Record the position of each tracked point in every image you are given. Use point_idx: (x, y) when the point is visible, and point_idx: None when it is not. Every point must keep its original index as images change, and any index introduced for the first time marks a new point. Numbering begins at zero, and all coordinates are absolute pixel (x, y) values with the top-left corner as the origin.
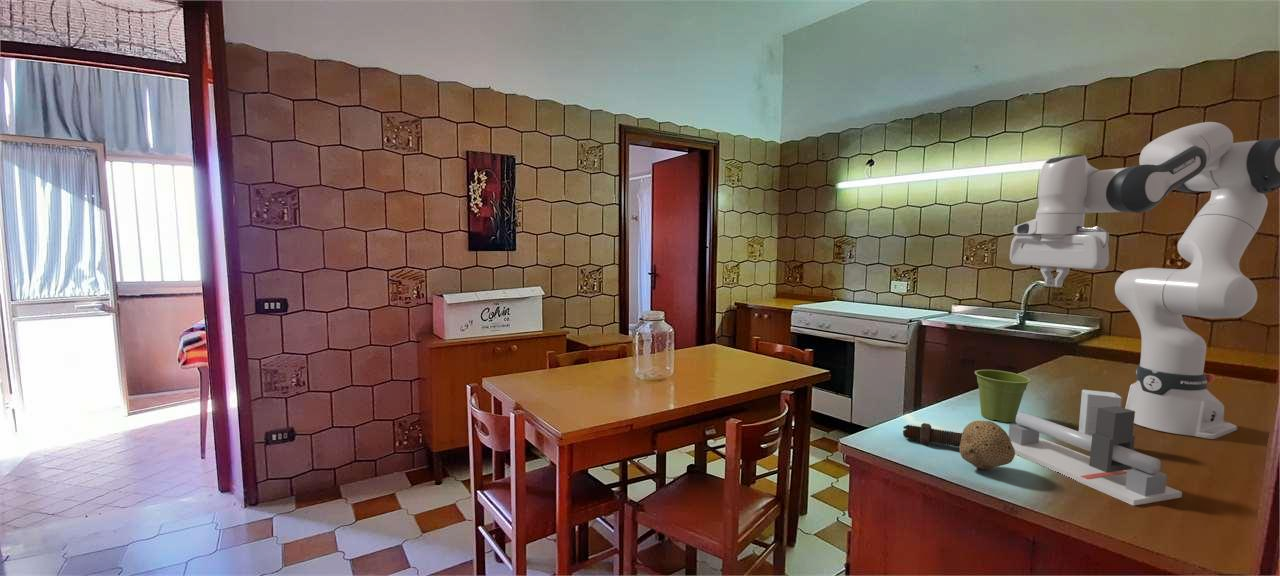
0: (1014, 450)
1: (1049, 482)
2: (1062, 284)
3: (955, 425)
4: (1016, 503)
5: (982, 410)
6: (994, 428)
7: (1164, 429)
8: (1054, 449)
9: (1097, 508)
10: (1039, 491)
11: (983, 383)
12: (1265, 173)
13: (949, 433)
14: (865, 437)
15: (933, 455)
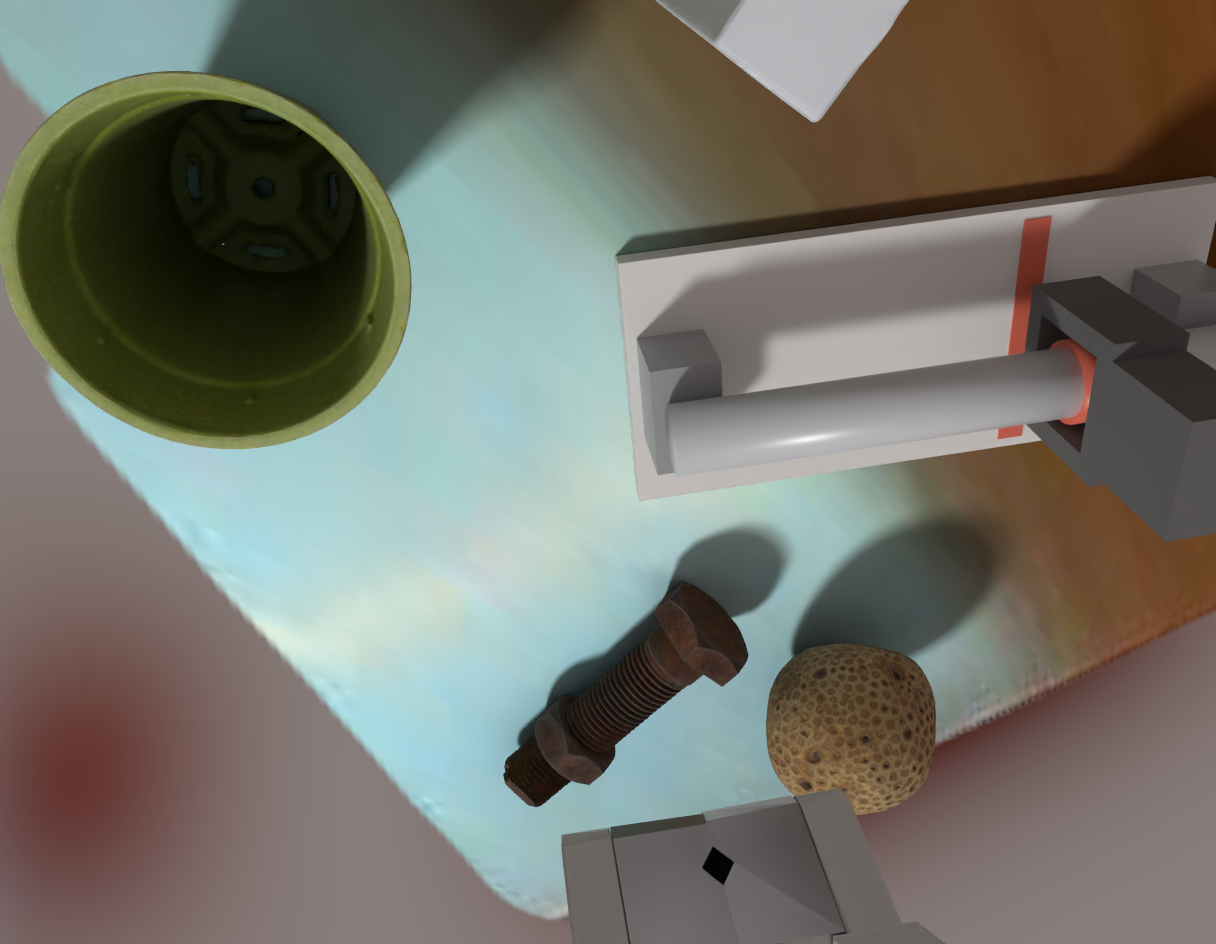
0: (923, 678)
1: (955, 531)
2: (857, 825)
3: (386, 496)
4: (1009, 704)
5: (246, 288)
6: (912, 786)
7: None
8: (780, 318)
9: (1118, 527)
10: (985, 603)
11: (253, 405)
12: None
13: (645, 712)
14: (495, 861)
15: (681, 740)
